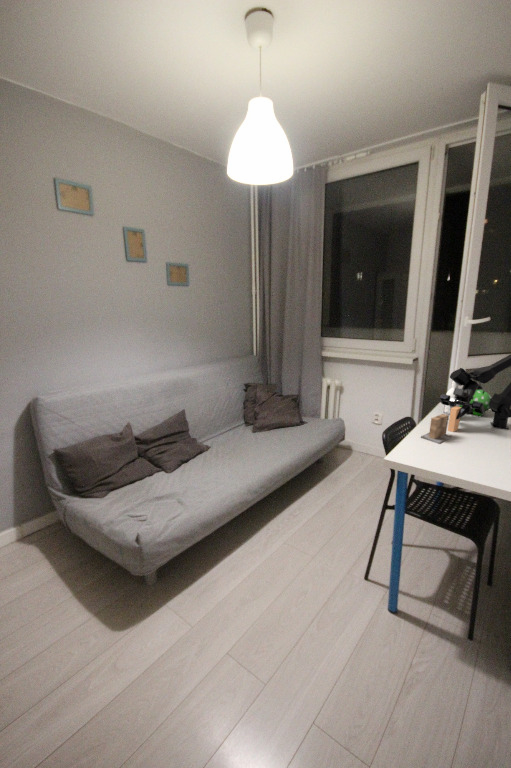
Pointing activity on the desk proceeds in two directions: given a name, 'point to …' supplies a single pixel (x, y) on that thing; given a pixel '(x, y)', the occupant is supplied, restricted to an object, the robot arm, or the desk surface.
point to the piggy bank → (481, 400)
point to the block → (454, 419)
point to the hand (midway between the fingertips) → (453, 418)
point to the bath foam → (450, 393)
